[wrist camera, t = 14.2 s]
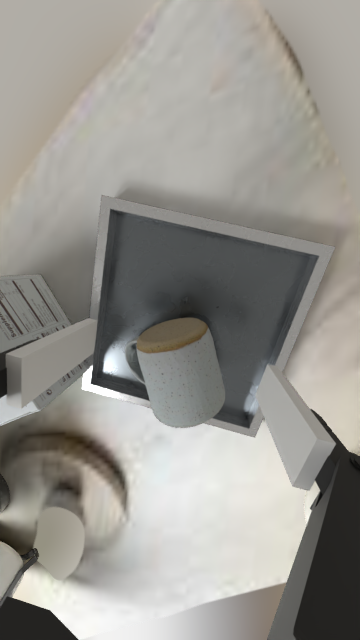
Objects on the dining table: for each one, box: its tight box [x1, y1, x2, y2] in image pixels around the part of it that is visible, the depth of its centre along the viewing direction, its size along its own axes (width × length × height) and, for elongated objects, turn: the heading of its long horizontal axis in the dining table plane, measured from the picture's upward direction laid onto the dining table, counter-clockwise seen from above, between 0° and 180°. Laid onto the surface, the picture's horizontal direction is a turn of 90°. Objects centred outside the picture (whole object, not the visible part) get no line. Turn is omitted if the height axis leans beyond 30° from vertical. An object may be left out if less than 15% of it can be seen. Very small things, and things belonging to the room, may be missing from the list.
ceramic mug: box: [125, 318, 225, 428], centre depth 20 cm, size 11×8×8 cm
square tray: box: [82, 195, 335, 437], centre depth 22 cm, size 22×22×2 cm
